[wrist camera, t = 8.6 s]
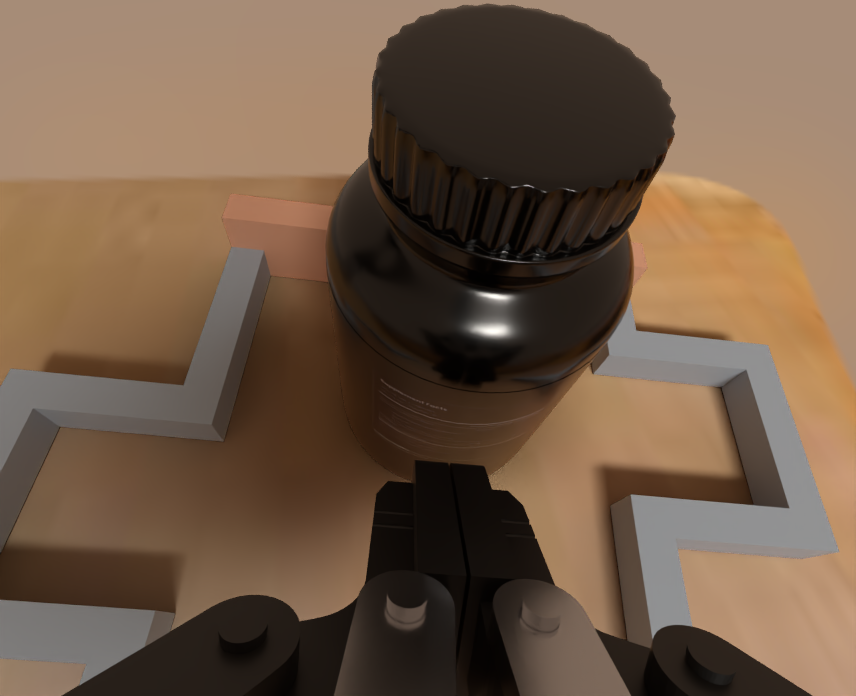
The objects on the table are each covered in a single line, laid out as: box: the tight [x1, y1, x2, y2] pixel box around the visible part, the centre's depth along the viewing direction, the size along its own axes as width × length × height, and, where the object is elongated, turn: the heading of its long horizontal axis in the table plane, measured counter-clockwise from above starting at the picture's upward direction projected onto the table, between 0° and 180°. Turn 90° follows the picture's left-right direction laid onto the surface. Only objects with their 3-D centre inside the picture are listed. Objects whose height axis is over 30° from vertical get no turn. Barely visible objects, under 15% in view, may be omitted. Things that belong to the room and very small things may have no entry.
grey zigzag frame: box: [0, 194, 839, 685], centre depth 15 cm, size 26×18×3 cm
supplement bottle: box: [325, 4, 676, 481], centre depth 13 cm, size 7×7×12 cm
